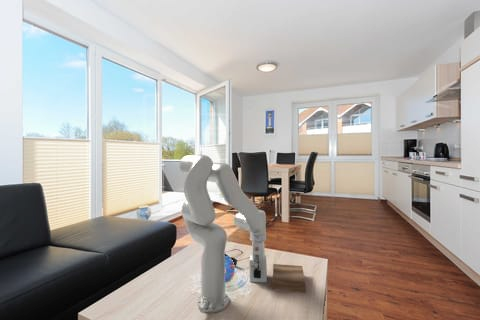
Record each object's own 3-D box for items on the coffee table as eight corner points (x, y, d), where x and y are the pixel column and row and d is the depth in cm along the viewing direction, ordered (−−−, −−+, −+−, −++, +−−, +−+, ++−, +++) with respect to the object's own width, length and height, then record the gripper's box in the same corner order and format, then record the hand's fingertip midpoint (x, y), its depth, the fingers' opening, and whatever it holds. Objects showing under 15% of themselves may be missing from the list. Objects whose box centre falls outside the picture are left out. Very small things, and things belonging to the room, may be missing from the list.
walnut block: (305, 293, 97) (305, 281, 97) (272, 290, 99) (272, 279, 99) (302, 276, 111) (302, 266, 111) (273, 273, 113) (273, 263, 113)
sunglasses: (220, 260, 128) (220, 251, 128) (241, 253, 138) (241, 245, 139) (236, 269, 117) (236, 260, 118) (257, 261, 128) (258, 252, 128)
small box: (266, 276, 110) (266, 255, 110) (266, 282, 104) (266, 260, 104) (250, 275, 111) (250, 254, 111) (249, 282, 105) (249, 259, 105)
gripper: (264, 244, 98) (264, 284, 98) (267, 230, 115) (267, 264, 115) (247, 243, 99) (247, 282, 100) (252, 230, 116) (252, 263, 117)
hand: (258, 272), depth 108 cm, fingers open, 7 cm apart
